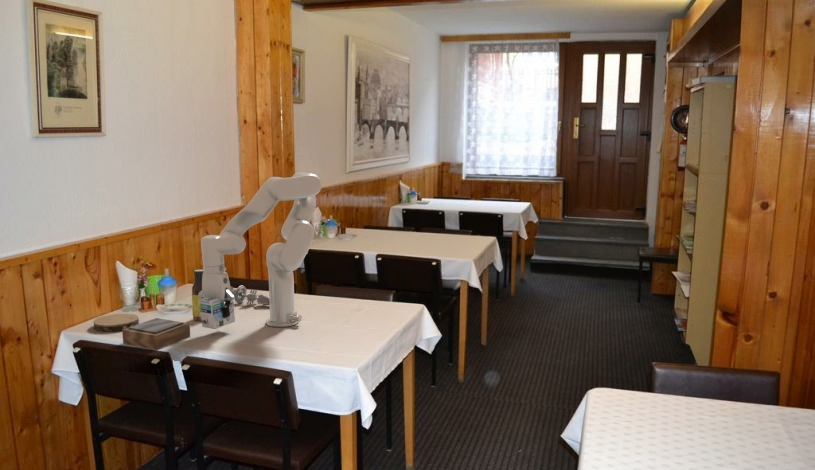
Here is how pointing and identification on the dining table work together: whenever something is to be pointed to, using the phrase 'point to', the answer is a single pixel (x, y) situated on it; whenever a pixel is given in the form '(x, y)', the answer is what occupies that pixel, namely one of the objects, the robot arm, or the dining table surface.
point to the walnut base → (156, 333)
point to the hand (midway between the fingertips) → (218, 315)
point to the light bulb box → (215, 313)
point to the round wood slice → (115, 322)
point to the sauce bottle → (195, 297)
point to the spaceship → (249, 296)
